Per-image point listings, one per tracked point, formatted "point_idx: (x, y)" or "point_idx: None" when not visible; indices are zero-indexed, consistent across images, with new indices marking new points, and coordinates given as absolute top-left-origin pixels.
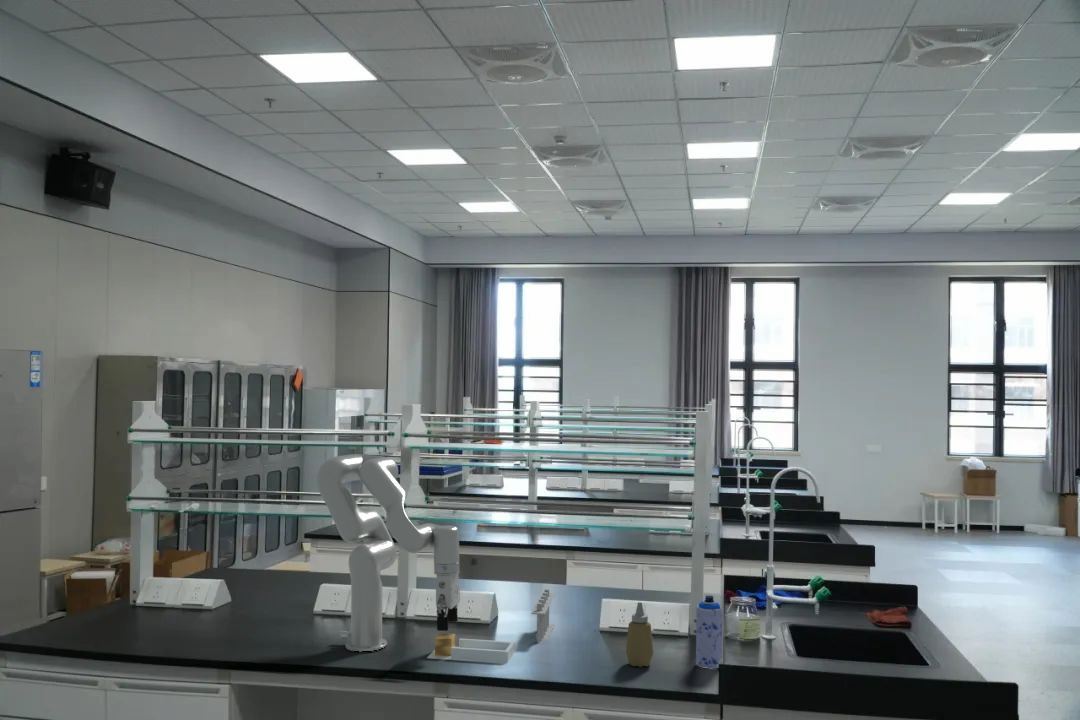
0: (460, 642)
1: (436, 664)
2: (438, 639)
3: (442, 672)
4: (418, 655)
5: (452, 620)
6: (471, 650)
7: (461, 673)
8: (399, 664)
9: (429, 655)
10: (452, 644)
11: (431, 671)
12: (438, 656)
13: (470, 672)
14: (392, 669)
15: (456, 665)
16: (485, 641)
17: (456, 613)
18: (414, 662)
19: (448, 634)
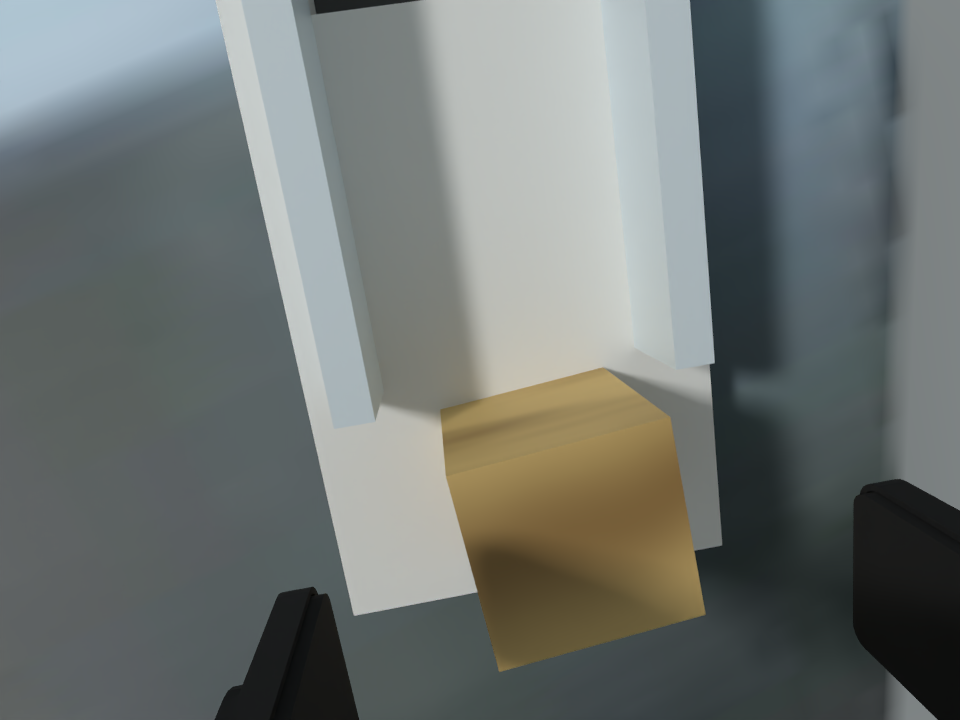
0: (374, 394)
1: None
2: (693, 567)
3: (877, 299)
4: (542, 669)
5: (338, 663)
6: (690, 105)
7: (866, 128)
8: (782, 685)
9: None
10: (587, 406)
11: (874, 395)
12: None
13: (823, 56)
14: None
15: None
16: (302, 59)
17: (285, 704)
18: (709, 614)
19: (501, 542)
